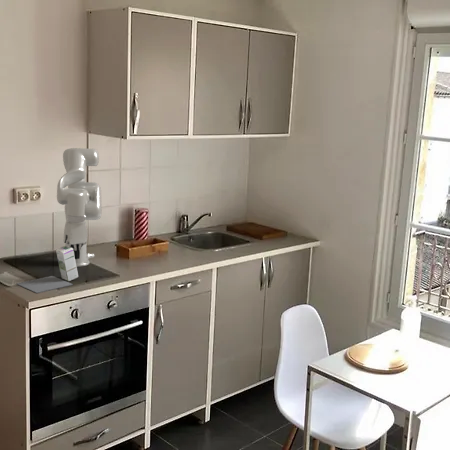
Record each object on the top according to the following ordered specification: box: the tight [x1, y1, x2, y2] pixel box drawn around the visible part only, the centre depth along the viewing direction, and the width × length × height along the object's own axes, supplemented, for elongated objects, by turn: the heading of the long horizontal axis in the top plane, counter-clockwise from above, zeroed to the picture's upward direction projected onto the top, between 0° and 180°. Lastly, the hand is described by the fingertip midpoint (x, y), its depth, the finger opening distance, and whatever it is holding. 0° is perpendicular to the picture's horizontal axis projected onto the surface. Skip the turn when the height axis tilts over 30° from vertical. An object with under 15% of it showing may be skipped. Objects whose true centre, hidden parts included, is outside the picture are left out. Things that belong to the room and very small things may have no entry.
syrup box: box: [55, 245, 79, 282], centre depth 280 cm, size 6×6×14 cm
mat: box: [16, 275, 74, 294], centre depth 273 cm, size 18×16×1 cm
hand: (75, 258), depth 282 cm, fingers closed
